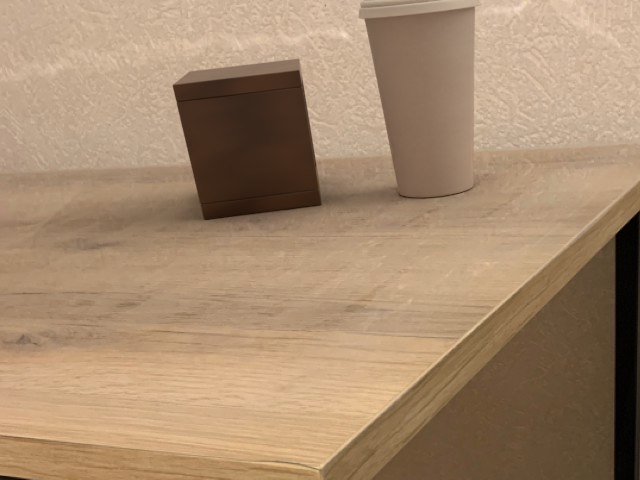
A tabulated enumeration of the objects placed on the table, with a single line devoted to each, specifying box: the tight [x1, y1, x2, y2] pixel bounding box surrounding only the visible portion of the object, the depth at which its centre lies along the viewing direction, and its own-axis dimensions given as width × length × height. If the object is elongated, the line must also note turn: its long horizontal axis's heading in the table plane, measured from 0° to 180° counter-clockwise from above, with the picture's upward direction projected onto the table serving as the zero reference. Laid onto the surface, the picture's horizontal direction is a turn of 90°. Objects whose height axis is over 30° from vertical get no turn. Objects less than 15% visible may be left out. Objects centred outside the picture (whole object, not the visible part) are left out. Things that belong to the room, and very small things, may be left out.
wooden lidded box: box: [172, 58, 322, 220], centre depth 79 cm, size 10×13×10 cm
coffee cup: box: [358, 0, 481, 199], centre depth 73 cm, size 10×10×15 cm
